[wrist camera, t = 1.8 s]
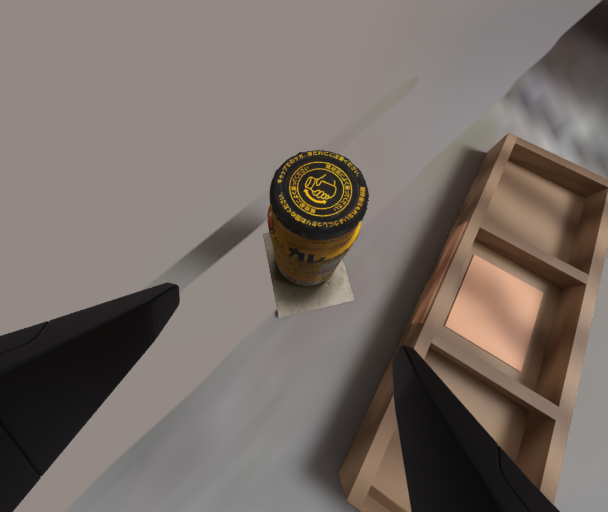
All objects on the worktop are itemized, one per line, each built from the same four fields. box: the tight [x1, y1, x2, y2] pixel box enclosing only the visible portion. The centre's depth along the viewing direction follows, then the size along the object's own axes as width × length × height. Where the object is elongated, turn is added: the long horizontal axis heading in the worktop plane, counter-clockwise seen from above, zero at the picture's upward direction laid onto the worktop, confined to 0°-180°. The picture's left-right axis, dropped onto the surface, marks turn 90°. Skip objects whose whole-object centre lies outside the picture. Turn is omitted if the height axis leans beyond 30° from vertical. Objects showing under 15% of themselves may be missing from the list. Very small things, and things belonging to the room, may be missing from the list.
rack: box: [338, 133, 608, 512], centre depth 21 cm, size 37×12×3 cm, turn 148°
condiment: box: [263, 150, 369, 318], centre depth 17 cm, size 7×8×12 cm
